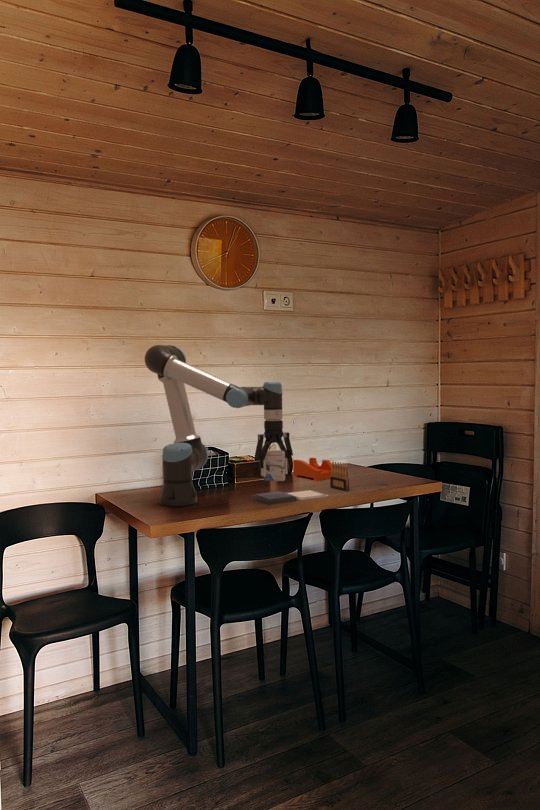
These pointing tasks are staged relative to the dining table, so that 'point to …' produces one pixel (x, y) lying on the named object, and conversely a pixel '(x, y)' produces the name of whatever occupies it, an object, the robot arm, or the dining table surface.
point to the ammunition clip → (339, 477)
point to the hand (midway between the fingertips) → (274, 474)
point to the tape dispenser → (312, 469)
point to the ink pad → (274, 497)
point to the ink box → (275, 466)
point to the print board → (307, 494)
